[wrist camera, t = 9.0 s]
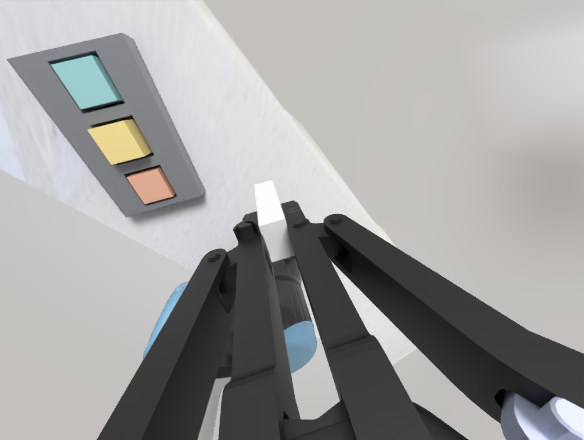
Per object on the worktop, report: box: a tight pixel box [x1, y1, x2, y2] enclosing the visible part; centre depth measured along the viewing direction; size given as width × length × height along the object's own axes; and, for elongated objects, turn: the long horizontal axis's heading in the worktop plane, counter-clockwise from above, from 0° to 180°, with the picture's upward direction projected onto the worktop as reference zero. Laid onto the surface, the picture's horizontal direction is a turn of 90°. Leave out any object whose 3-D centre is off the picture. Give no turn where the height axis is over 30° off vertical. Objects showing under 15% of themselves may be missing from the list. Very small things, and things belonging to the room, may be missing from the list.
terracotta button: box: [127, 166, 175, 204], centre depth 36 cm, size 5×5×3 cm
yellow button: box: [88, 119, 152, 165], centre depth 31 cm, size 5×5×3 cm
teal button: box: [51, 55, 124, 109], centre depth 28 cm, size 5×5×3 cm
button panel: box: [7, 33, 205, 217], centre depth 33 cm, size 23×14×3 cm, turn 12°
